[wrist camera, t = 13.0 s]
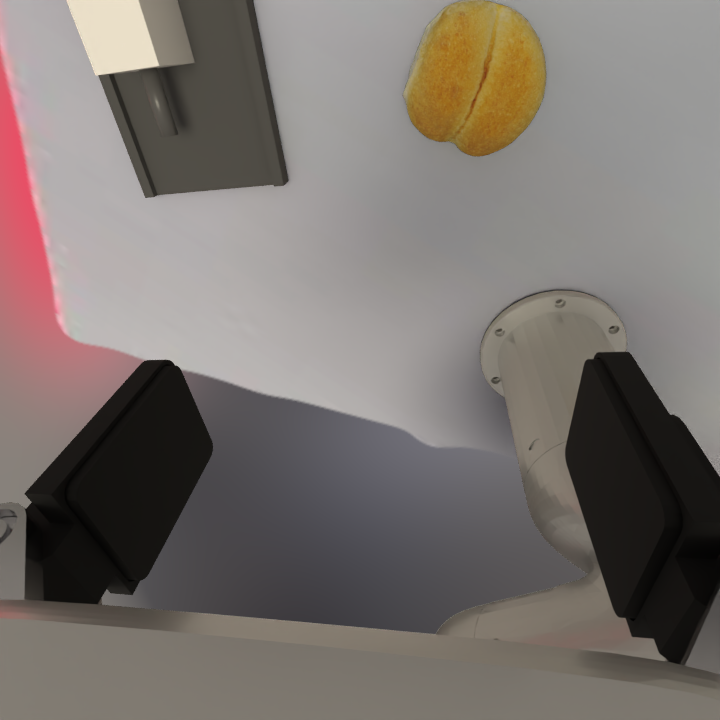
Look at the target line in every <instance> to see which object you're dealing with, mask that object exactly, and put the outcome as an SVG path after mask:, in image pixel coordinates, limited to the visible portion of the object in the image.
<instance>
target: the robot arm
mask: <svg viewBox="0 0 720 720" xmlns="http://www.w3.org/2000/svg"><path fill="white" fill-rule="evenodd" d="M559 299H560V300H559ZM557 300H559V301H557ZM626 347H627V338H626V332H625V329H624V326H623V324H622V322H621V320H620V319H619V317H618V316H617V314H616V313H615V312H614V311H613V310H612V309H611V308H610V307H609V306H608V305H607V304H606V303H604V302H603V301H601V300H600V299H598V298H596V297H593V296H591V295H588V294H585V293H581V292H575V291H550V292H544V293H539V294H536V295H533V296H530V297H527V298H525V299H523V300H521V301H519V302H517V303H515V304H513V305H511V306H510V307H509V308H507V309H506V310H505V311H503V312H502V313H501V314H500V315H499V316H498V317H497V318H496V319H495V320H494V321H493V322H492V324H491V325H490V327H489V328H488V330H487V331H486V333H485V335H484V338H483V340H482V344H481V349H480V360H481V366H482V371H483V374H484V376H485V378H486V380H487V382H488V383H489V384H490V386H491V387H492V388H493V389H494V390H495V391H496V392H497V393H499V394H500V395H501V396H503V397H505V401H506V405H507V410H508V415H509V420H510V424H511V429H512V434H513V439H514V444H515V448H516V453H517V458H518V463H519V467H520V472H521V477H522V482H523V487H524V491H525V494H526V500H527V504H528V508H529V511H530V515H531V517H532V519H533V521H534V524H535V526H536V527H537V529H538V530H539V532H540V533H541V535H542V536H543V537H544V539H545V540H546V541H547V542H548V543H549V544H550V545H551V546H552V547H553V548H554V549H555V550H556V551H557V552H559V553H560V554H561V555H562V556H563V557H565V558H566V559H567V560H568V561H570V562H571V563H572V564H574V565H575V566H577V567H578V568H580V569H581V570H582V571H584V572H585V573H587V575H586V576H585V577H583V578H581V579H579V580H576V581H572V582H569V583H566V584H562V585H559V586H557V587H555V588H550V589H546V590H542V591H537V592H533V593H529V594H525V595H521V596H516V597H512V598H508V599H503V600H499V601H495V602H491V603H489V604H484V605H480V606H476V607H473V608H470V609H467V610H464V611H462V612H460V613H458V614H456V615H454V616H452V617H451V618H449V619H448V620H447V621H446V622H445V623H444V624H443V625H442V626H441V627H440V628H439V630H438V631H437V633H436V634H425V633H414V632H404V631H393V630H383V629H372V628H361V627H350V626H339V625H327V624H317V623H306V622H295V621H283V620H272V619H260V618H250V617H239V616H227V615H216V614H204V613H192V612H180V611H169V610H156V609H145V608H133V607H121V606H109V605H102V599H101V597H102V596H103V594H104V592H105V591H106V589H108V590H109V592H110V593H115V594H128V595H133V593H134V591H135V589H136V587H137V585H138V583H139V582H140V580H143V579H145V578H146V577H147V575H148V574H149V572H150V570H151V569H152V567H153V565H154V563H155V561H156V559H157V557H158V555H159V553H160V552H161V550H162V548H163V546H164V544H165V542H166V540H167V538H168V537H169V535H170V533H171V531H172V529H173V527H174V525H175V523H176V521H177V520H178V518H179V516H180V514H181V512H182V510H183V508H184V506H185V504H186V503H187V501H188V499H189V496H190V495H191V493H192V491H193V489H194V487H195V486H196V484H197V482H198V480H199V478H200V476H201V474H202V472H203V470H204V469H205V467H206V465H207V463H208V461H209V459H210V457H211V455H212V451H213V443H212V440H211V438H210V436H209V433H208V431H207V429H206V426H205V424H204V422H203V420H202V417H201V415H200V413H199V411H198V408H197V406H196V403H195V401H194V399H193V397H192V394H191V392H190V390H189V387H188V385H187V383H186V380H185V378H184V376H183V374H182V371H181V369H180V368H179V367H178V366H175V365H174V363H173V362H172V361H170V360H147V361H144V362H143V363H142V364H141V365H140V366H139V367H138V368H137V369H136V370H135V371H134V372H133V373H132V375H131V376H130V377H129V378H128V379H127V380H126V381H125V383H123V385H122V386H121V387H120V388H119V389H118V390H117V391H116V392H115V393H114V395H113V396H112V397H111V398H110V399H109V400H108V401H107V402H106V404H105V405H104V406H103V407H102V408H101V409H100V410H99V411H98V412H97V414H96V415H95V416H94V417H93V418H92V419H91V420H90V421H89V422H88V423H87V425H86V426H85V427H84V428H83V429H82V430H81V432H79V434H78V435H77V436H76V437H75V438H74V439H73V440H72V441H71V442H70V444H69V445H68V446H67V447H66V448H65V449H64V450H63V451H62V452H61V454H60V455H59V456H58V457H57V458H56V459H55V460H54V461H53V462H52V464H51V465H50V466H49V467H48V468H47V469H46V470H45V471H44V472H43V474H42V475H41V476H40V477H39V478H38V479H37V480H36V481H35V482H34V484H33V485H32V486H31V487H30V488H29V489H28V490H27V491H26V493H25V495H26V496H27V497H28V498H29V499H30V501H31V502H32V503H31V504H30V505H29V506H28V507H27V509H25V508H24V507H23V506H21V505H20V504H19V503H12V502H9V503H2V504H0V720H720V477H719V475H718V474H717V472H716V471H715V469H714V468H713V466H712V465H711V463H710V462H709V460H708V459H707V457H706V456H705V454H704V453H703V451H702V449H701V448H700V446H699V445H698V443H697V442H696V440H695V439H694V437H693V436H692V434H691V433H690V431H689V430H688V428H687V427H686V425H685V424H684V423H683V422H682V420H681V419H680V418H679V417H677V416H675V415H670V414H669V413H668V411H667V410H666V408H665V407H664V405H663V403H662V402H661V400H660V399H659V397H658V396H657V394H656V393H655V391H654V389H653V388H652V386H651V385H650V383H649V382H648V380H647V378H646V377H645V375H644V374H643V372H642V371H641V369H640V368H639V366H638V364H637V363H636V361H635V360H634V358H633V357H632V355H631V354H630V353H629V352H626Z"/></svg>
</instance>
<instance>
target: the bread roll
mask: <svg viewBox="0 0 720 720" xmlns="http://www.w3.org/2000/svg"><path fill="white" fill-rule="evenodd" d="M545 85H546V65H545V57H544V53H543V49H542V46H541V43H540V40H539V38H538V36H537V34H536V33H535V31H534V29H533V28H532V27H531V24H530V23H529V22H528V21H527V20H526V19H525V18H524V17H523V16H522V15H521V14H520V13H518V12H517V11H515V10H514V9H512V8H510V7H507V6H504V5H499V4H496V3H493V2H491V1H484V0H464V1H459V2H456V3H453V4H451V5H448V6H447V7H445V8H444V9H443V10H442V11H441V12H440V13H439V14H438V15H437V16H436V17H435V18H434V19H433V20H432V21H431V22H430V23H429V24H428V25H427V27H426V29H425V32H424V35H423V37H422V39H421V42H420V44H419V47H418V49H417V52H416V55H415V58H414V61H413V63H412V65H411V69H410V72H409V79H408V81H407V83H406V85H405V90H404V93H403V97H404V99H405V102H406V105H407V110H408V114H409V117H410V119H411V122H412V123H413V125H414V126H415V127H416V128H417V129H418V130H419V131H420V132H421V133H422V134H423V135H425V136H426V137H427V138H429V139H432V140H435V141H439V142H446V141H450V142H452V143H454V144H456V145H457V147H458V148H459V149H460V150H461V151H463V152H464V153H466V154H468V155H471V156H484V155H488V154H491V153H494V152H496V151H498V150H500V149H502V148H504V147H506V146H507V145H509V144H511V143H512V142H513V141H514V140H515V139H516V138H517V137H518V136H519V135H520V134H521V133H522V132H523V131H524V130H525V129H526V128H527V127H528V125H529V124H530V123H531V121H532V120H533V118H534V116H535V115H536V113H537V111H538V109H539V107H540V105H541V102H542V100H543V96H544V91H545Z"/></svg>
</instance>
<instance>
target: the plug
mask: <svg viewBox="0 0 720 720" xmlns="http://www.w3.org/2000/svg"><path fill="white" fill-rule="evenodd" d="M66 1H67V3H68V6H69V8H70V11H71V13H72V16H73V19H74V21H75V24H76V26H77V29H78V31H79V34H80V37H81V39H82V42H83V44H84V47H85V49H86V52H87V55H88V57H89V60H90V62H91V65H92V67H93V70H94V72H95V75H106V74H115V73H125V72H135V71H139V73H140V76H141V79H142V82H143V85H144V88H145V90H146V93H147V96H148V99H149V102H150V105H151V108H152V111H153V114H154V117H155V120H156V123H157V126H158V129H159V132H160V134H161V137H169V136H174V135H178V131H177V128H176V124H175V121H174V118H173V115H172V112H171V109H170V106H169V102H168V99H167V96H166V93H165V90H164V87H163V84H162V81H161V77H160V74H159V71H158V68H163V67H170V66H177V65H183V64H190V63H195V62H194V58H193V55H192V51H191V47H190V44H189V40H188V37H187V33H186V29H185V26H184V22H183V18H182V15H181V11H180V8H179V4H178V0H66Z"/></svg>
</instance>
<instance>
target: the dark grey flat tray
mask: <svg viewBox="0 0 720 720" xmlns="http://www.w3.org/2000/svg"><path fill="white" fill-rule="evenodd" d="M178 4H179V8H180V11H181V15H182V18H183V22H184V26H185V29H186V33H187V37H188V40H189V44H190V47H191V51H192V55H193V58H194V62H195V63H190V64H183V65H177V66H170V67H163V68H158V71H159V74H160V77H161V81H162V84H163V87H164V90H165V93H166V96H167V99H168V102H169V106H170V109H171V112H172V115H173V118H174V121H175V124H176V128H177V131H178V135H174V136H169V137H161V134H160V132H159V129H158V126H157V123H156V120H155V117H154V114H153V111H152V108H151V105H150V102H149V99H148V96H147V93H146V90H145V88H144V85H143V82H142V79H141V76H140V73H139V71H135V72H125V73H115V74H106V75H98V76H99V78H100V81H101V83H102V86H103V89H104V91H105V94H106V96H107V99H108V102H109V104H110V107H111V109H112V112H113V115H114V117H115V120H116V123H117V125H118V128H119V130H120V133H121V136H122V138H123V141H124V143H125V146H126V149H127V151H128V154H129V156H130V159H131V162H132V164H133V167H134V169H135V172H136V175H137V177H138V180H139V182H140V185H141V188H142V190H143V193H144V195H145V198H148V197H155V196H157V195H163V194H174V193H185V192H196V191H208V190H219V189H230V188H241V187H253V186H264V185H274V186H284V185H285V184H286V183H287V182H288V177H287V171H286V166H285V161H284V156H283V151H282V146H281V141H280V136H279V131H278V126H277V121H276V116H275V111H274V106H273V100H272V95H271V90H270V85H269V80H268V75H267V70H266V65H265V60H264V55H263V50H262V45H261V40H260V35H259V29H258V24H257V19H256V14H255V9H254V4H253V0H178Z"/></svg>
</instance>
